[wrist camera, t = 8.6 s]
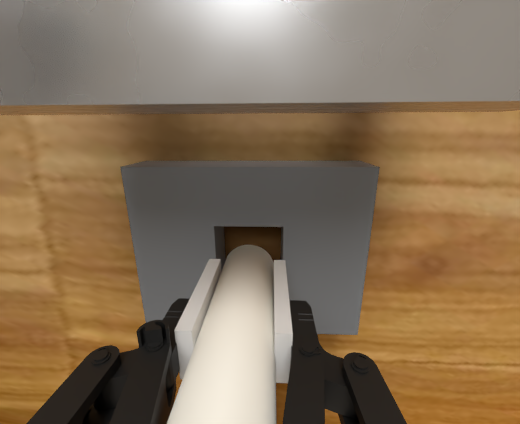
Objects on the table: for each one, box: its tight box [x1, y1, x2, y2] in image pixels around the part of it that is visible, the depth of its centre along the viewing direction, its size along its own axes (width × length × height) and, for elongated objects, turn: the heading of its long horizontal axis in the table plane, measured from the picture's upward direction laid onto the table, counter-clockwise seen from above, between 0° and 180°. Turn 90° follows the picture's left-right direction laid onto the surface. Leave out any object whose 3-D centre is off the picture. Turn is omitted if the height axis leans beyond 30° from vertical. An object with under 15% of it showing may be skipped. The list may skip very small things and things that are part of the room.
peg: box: [167, 245, 276, 424], centre depth 13 cm, size 4×4×12 cm
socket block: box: [121, 161, 380, 335], centre depth 22 cm, size 18×14×4 cm
